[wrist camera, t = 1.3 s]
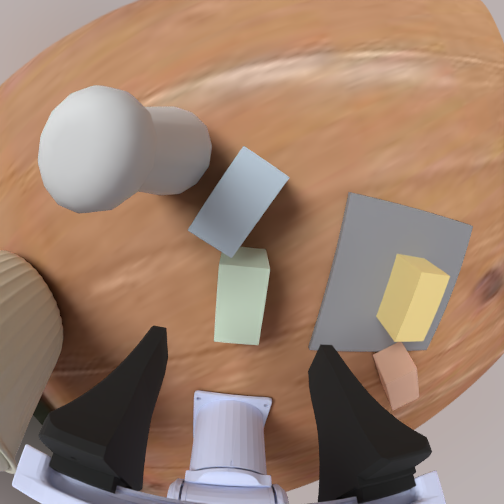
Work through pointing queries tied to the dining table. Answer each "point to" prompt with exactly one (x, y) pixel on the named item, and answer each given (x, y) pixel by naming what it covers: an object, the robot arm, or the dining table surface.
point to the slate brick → (238, 202)
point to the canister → (24, 349)
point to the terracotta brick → (397, 375)
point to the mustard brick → (411, 298)
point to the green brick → (241, 296)
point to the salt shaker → (119, 150)
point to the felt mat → (382, 270)
